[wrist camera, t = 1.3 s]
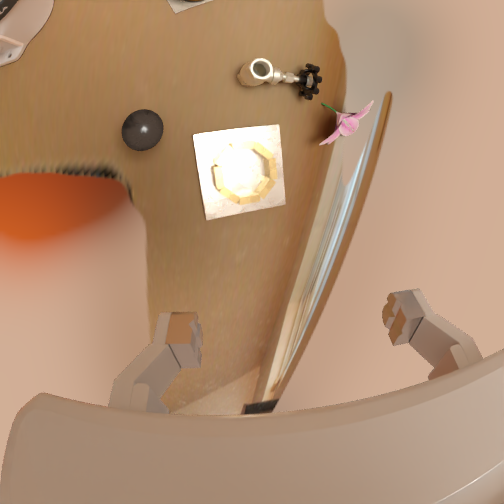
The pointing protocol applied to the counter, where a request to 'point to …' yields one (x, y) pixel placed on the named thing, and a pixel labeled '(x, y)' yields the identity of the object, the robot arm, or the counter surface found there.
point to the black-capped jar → (142, 130)
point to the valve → (279, 76)
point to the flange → (240, 170)
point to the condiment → (184, 4)
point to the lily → (346, 123)
